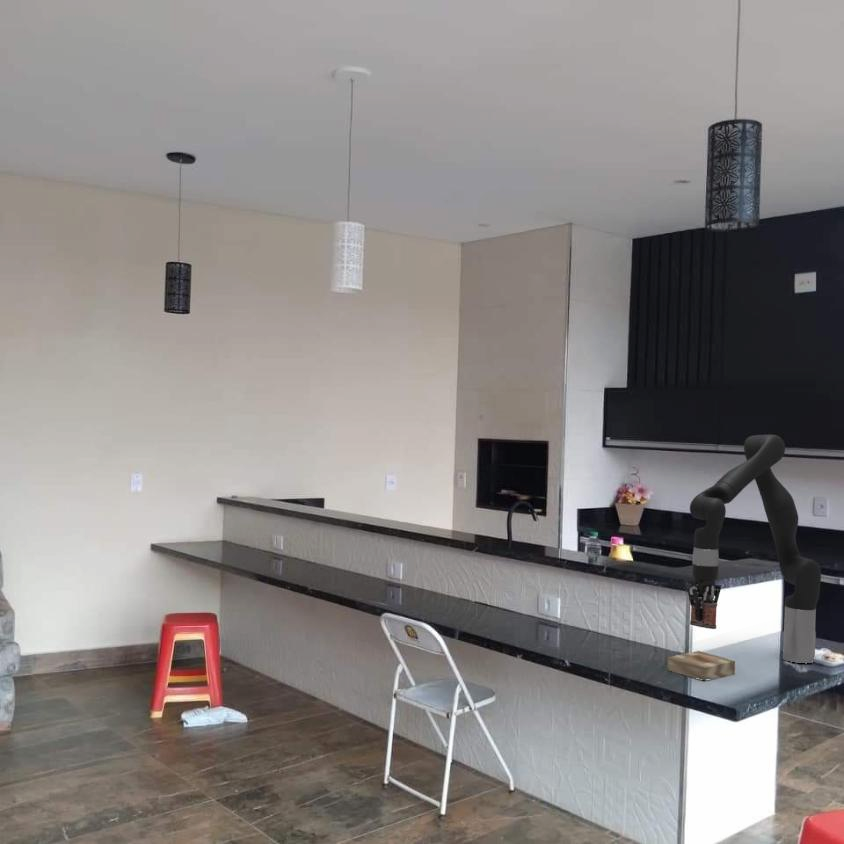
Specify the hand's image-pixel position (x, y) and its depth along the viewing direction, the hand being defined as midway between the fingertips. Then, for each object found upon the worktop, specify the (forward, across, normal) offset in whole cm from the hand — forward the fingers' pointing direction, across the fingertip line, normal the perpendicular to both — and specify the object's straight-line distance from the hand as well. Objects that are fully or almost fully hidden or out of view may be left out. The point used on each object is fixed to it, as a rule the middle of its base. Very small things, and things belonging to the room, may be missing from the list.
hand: (703, 619), depth 270 cm
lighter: (+2, 0, 0) cm, 2 cm away
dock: (+16, 0, 0) cm, 16 cm away
